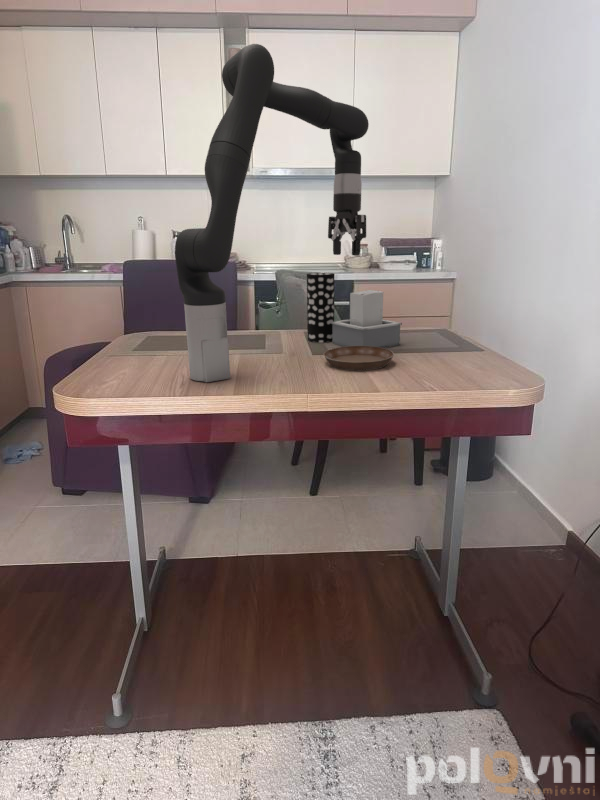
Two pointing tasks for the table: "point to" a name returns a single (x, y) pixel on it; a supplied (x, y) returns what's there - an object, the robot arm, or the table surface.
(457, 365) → the table surface
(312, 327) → the white-spotted black cylinder
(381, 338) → the bin
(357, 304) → the skincare box
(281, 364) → the table surface
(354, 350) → the plant saucer
